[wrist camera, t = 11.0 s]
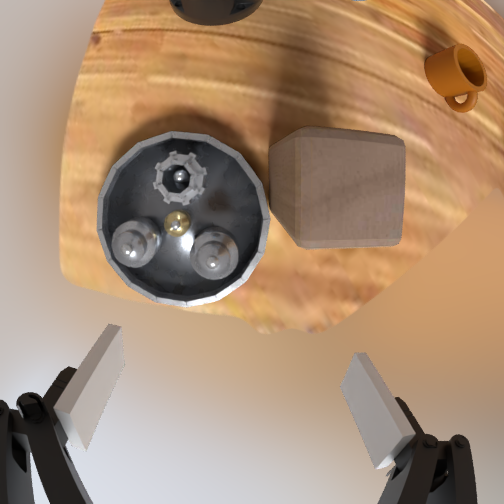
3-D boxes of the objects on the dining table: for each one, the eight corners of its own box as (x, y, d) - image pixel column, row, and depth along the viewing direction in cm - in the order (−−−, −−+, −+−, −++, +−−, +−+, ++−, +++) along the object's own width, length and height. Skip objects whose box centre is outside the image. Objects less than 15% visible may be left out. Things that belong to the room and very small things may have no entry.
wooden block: (267, 144, 38) (297, 123, 19) (334, 146, 39) (409, 136, 20) (268, 213, 41) (296, 253, 22) (333, 212, 42) (404, 249, 23)
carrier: (114, 129, 36) (90, 123, 28) (280, 147, 38) (290, 142, 31) (105, 283, 43) (84, 304, 35) (252, 306, 45) (255, 333, 38)
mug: (425, 104, 37) (456, 96, 28) (422, 49, 34) (449, 34, 25) (459, 119, 37) (491, 116, 29) (456, 66, 34) (484, 56, 25)
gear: (164, 150, 36) (152, 148, 30) (212, 155, 37) (208, 153, 31) (158, 198, 38) (146, 203, 32) (205, 204, 39) (200, 210, 33)
